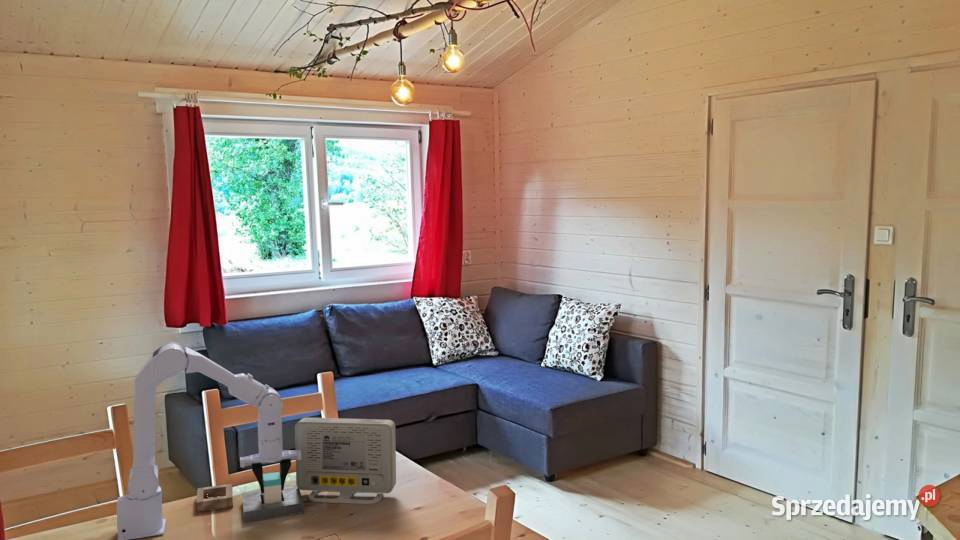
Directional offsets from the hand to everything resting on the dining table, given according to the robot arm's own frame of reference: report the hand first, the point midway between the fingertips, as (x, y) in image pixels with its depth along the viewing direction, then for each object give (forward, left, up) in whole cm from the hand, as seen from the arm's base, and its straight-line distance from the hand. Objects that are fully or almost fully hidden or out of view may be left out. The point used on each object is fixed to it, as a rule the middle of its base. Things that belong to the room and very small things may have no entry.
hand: (272, 490), depth 171 cm
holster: (-14, +9, -4) cm, 17 cm away
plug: (0, 0, -4) cm, 4 cm away
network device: (+18, 0, -5) cm, 19 cm away
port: (0, 0, -4) cm, 4 cm away
